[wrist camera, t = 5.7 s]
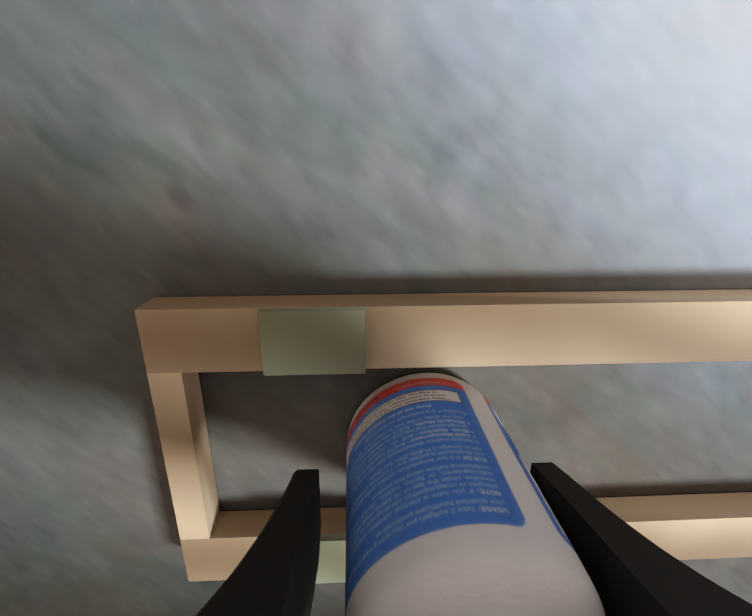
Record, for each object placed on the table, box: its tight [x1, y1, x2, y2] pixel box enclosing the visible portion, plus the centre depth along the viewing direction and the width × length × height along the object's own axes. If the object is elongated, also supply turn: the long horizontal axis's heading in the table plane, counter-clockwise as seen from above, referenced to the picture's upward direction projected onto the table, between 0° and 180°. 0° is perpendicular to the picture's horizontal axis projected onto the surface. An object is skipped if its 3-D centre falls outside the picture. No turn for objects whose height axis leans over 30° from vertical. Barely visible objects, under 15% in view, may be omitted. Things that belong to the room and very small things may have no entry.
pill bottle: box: [345, 373, 605, 616], centre depth 10 cm, size 6×5×10 cm
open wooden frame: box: [134, 289, 752, 584], centre depth 14 cm, size 10×24×2 cm, turn 90°
